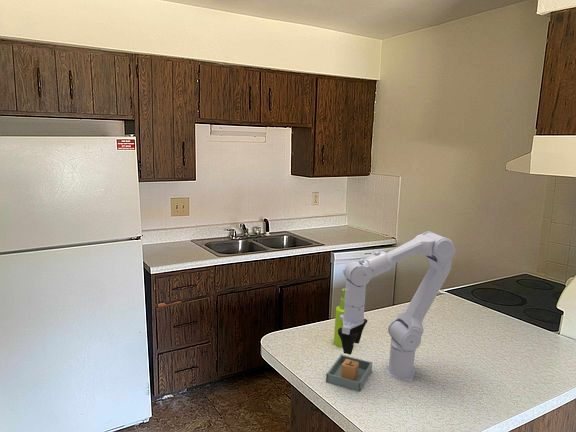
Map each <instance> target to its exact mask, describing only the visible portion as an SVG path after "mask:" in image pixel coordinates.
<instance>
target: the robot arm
mask: <svg viewBox="0 0 576 432" xmlns="http://www.w3.org/2000/svg"><path fill="white" fill-rule="evenodd" d="M456 253H457V249H456V248H455V244H454V242H453V241H452V239H450V238H448V237H444V236H443V235H439V234H437V233H435V232H433V231H430V230H429V231H424V232H423V233H421V234H418V235H416V236H415V237H414V238H413V239H411V240H409V241H407V242H405V243H403V244H402V245H400V246H398V247H396V248H394V249H391V250H390V251H388V252H385V251H383V250H380V251H379V250H375V251H374V252H373V254H371V255H369V256H367V257H365V258H360V259H359V261H355V260H353V261H350V262H349V263H347V264H346V265H345V267H344V269H343V271H342V273H343V275H344V277H345V278H346V280H345V288H346V289H345V305H344V315H343V314H342V315H340V319H342V320H343V327H342V328H339V329H338V334H339V336H340V338H341V341H342V346H343V348H342V352H343V354H347V355H348V356H349V355H352V353H353V349H354V345H355V344H359V343H360V341H361V338H362V334H363V330H364V329H365V326H366V325H367V323H368V319H366V318H365V306H366V305H365V304H366V291H367V285H368V284H369V282H370V280H371V279H372V278H374V277H376V276H379V275H380V274H383V273H386V272H388V271H390V270H391V269H392V266H393V264H395V263H397V262H400V261H403V260H405V259H408V258H410V257H413V256H416V255H423V256H425V257H426V258H427V259H426V260H427V261H428V264H429V268H428V269H427V272H426V273H425V275H424V277H423V278H422V281H421V282H420V284H419V286H418V287H417V289H416V292H415V293H414V295H413V297H412V298H411V300H410V302H409V304H408V305H407V308H406V309H405V311H404V312H400V313H398V314H397V316H396V318H395V319H394V320H392V321H391V322H390V323H389V325H388V327H387V332H388V335H389V336H390V348H389V349H390V350H389V359H388V360H389V362H388V366H387V369H386V370H385V373H384V375H386V376H389V377H391V378H396V379H400V380H403V381H408V382H413V379H414V377H415V374H416V372H417V368H418V367H417V366H416V365H415V358H416V357H415V356H416V352H417V349H418V348H419V347H420V345H421V342H422V336H423V334H424V332H425V331H424V325H423V320H424V319H425V317H426V315H427V313H428V312H429V310H430V308H431V307H432V305H433V303H434V301H435V299H436V297H437V296H438V294H439V292H440V290H441V288H442V287H443V284H444V283H445V281H446V279H447V277H448V275H449V274H450V273H451V271H452V265H453V258H454V256H455V255H456Z"/></svg>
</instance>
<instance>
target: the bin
mask: <svg viewBox="0 0 576 432" xmlns="http://www.w3.org/2000/svg"><path fill="white" fill-rule="evenodd" d="M345 359H349V360H353V361H357V362H359V368H358V375H357V377H356V379H355V380H350V379H346V378H343V377H341V369H342V364H343V362H344V361H345ZM372 372H373V362H371V361H367V360H363V359H360V358H356V357H352V356H349V355H344V354H340V355H339V356H338V358H337V359H336V360H335V362H334V363H333V365H332V366H331V367H330V369H329V370H328V371H327V372H326V375H325V382H326V383H327V384H331V385H335V386H338V387H341V388H345V389H347V390H352V391H356V392H361V390H362V389H363V387H364V385H365V383H366V382H367V379H368V378H369V376H370V374H371V373H372Z"/></svg>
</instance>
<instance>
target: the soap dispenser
mask: <svg viewBox="0 0 576 432" xmlns="http://www.w3.org/2000/svg"><path fill="white" fill-rule="evenodd" d="M345 289H346V287H345V288H344V287H343V288H341V292H342V293H343V294H342V296H341V297H340V300H339V305H338V306H336V307H335V316H334V317H335V318H334V319H335V320H334V335H333V345H334V346H336V347H338V348H342V349H343V346H342V341H341V338H340V336H339V334H338V329H339V328H342V327H343V320H342V319H340V315H342V314H343V315H344V305H345Z"/></svg>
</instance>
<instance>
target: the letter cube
mask: <svg viewBox="0 0 576 432" xmlns="http://www.w3.org/2000/svg"><path fill="white" fill-rule="evenodd" d="M358 368H359V362H357V361H353V360H349V359H345V361H344V362H343V364H342V369H341V377H343V378H346V379H350V380H355V379H356V377H357V375H358Z"/></svg>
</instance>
